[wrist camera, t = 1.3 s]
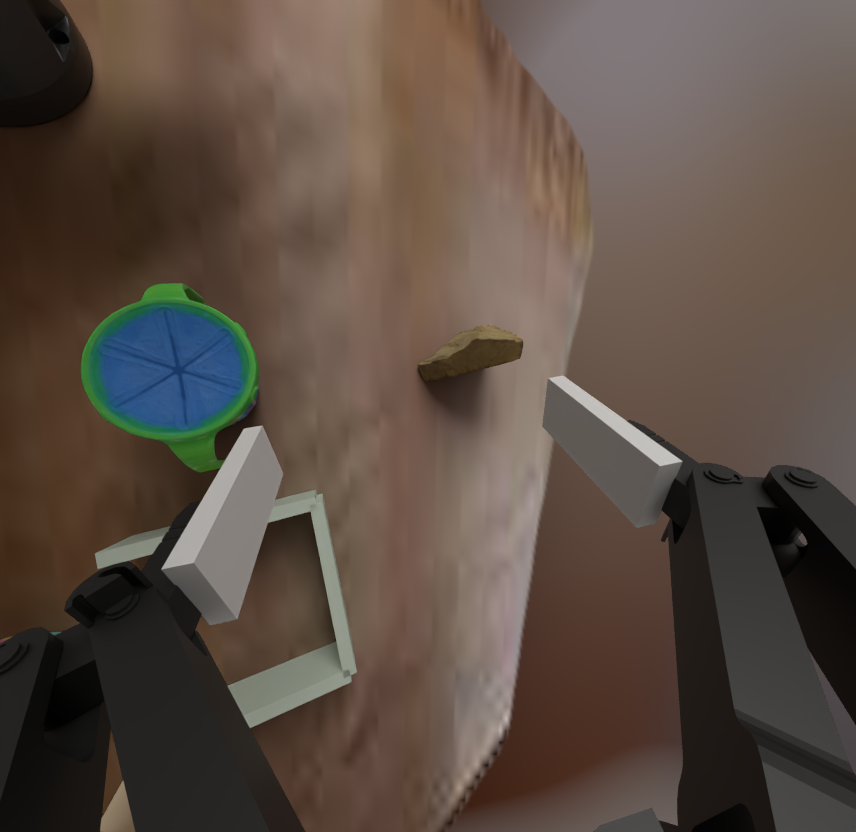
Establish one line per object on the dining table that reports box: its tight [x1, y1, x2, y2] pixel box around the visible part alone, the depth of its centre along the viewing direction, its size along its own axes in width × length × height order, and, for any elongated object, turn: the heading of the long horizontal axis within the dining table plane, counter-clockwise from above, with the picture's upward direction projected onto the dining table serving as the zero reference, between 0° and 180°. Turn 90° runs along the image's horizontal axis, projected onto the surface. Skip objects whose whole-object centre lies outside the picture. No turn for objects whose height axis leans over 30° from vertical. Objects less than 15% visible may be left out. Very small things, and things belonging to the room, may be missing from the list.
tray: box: [95, 490, 357, 728], centre depth 29 cm, size 17×17×5 cm
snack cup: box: [80, 283, 259, 472], centre depth 27 cm, size 16×11×10 cm
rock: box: [418, 325, 523, 382], centre depth 38 cm, size 11×9×10 cm
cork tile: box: [100, 781, 135, 832], centre depth 28 cm, size 5×5×1 cm
